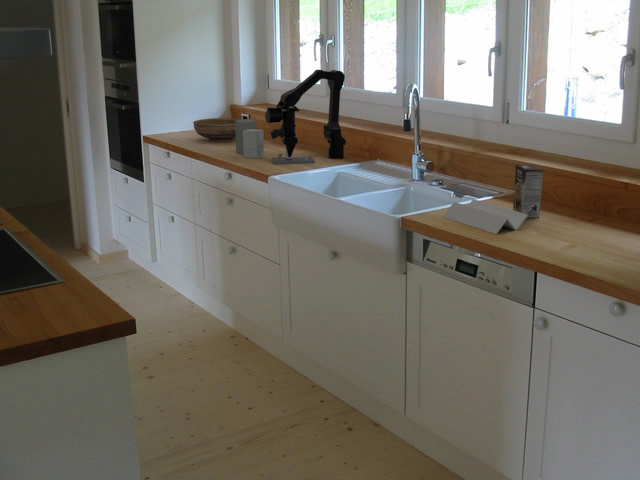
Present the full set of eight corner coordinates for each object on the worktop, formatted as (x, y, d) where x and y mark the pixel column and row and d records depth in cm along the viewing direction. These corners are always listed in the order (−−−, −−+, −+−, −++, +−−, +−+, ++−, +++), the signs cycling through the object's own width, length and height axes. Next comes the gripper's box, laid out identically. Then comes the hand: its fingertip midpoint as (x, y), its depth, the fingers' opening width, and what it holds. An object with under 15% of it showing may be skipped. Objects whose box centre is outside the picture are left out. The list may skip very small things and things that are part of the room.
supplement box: (264, 156, 369) (264, 129, 365) (256, 158, 362) (256, 131, 359) (250, 155, 372) (250, 128, 368) (243, 157, 365) (242, 130, 362)
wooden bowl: (259, 143, 406) (258, 124, 403) (206, 147, 394) (205, 127, 391) (234, 134, 438) (234, 116, 435) (185, 137, 426) (184, 119, 423)
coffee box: (512, 211, 265) (515, 164, 261) (530, 210, 266) (534, 163, 261) (520, 218, 257) (524, 169, 252) (540, 217, 257) (543, 169, 253)
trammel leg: (292, 157, 357) (291, 144, 355) (292, 158, 354) (292, 145, 353) (285, 157, 357) (285, 144, 355) (286, 159, 354) (286, 145, 352)
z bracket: (505, 245, 242) (495, 233, 238) (452, 227, 262) (442, 216, 259) (527, 215, 243) (518, 203, 240) (473, 199, 264) (464, 188, 261)
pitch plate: (311, 158, 363) (311, 151, 362) (314, 163, 352) (314, 155, 351) (272, 159, 361) (272, 151, 360) (274, 164, 349) (274, 156, 348)
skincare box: (250, 151, 383) (249, 118, 379) (257, 153, 377) (256, 120, 373) (234, 152, 379) (233, 119, 374) (241, 154, 373) (240, 121, 369)
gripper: (269, 119, 359) (269, 153, 363) (272, 124, 341) (273, 160, 345) (293, 119, 360) (293, 152, 364) (297, 124, 342) (298, 159, 347)
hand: (289, 156), depth 355 cm, fingers closed on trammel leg, 3 cm apart
